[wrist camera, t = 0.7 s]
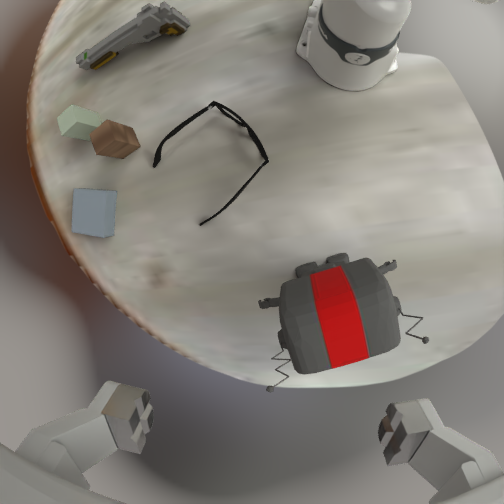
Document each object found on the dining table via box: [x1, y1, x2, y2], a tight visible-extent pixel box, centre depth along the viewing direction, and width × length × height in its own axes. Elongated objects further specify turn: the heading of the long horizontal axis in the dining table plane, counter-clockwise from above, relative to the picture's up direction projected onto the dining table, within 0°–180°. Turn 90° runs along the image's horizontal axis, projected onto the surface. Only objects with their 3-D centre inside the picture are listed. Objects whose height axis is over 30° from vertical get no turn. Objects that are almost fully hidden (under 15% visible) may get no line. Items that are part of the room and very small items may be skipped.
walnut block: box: [89, 120, 141, 159], centre depth 48 cm, size 4×4×9 cm
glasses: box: [153, 101, 269, 226], centre depth 49 cm, size 17×18×5 cm
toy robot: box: [258, 253, 429, 392], centre depth 37 cm, size 22×9×30 cm, turn 109°
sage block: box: [57, 104, 102, 141], centre depth 49 cm, size 4×4×9 cm
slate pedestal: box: [72, 188, 117, 238], centre depth 54 cm, size 9×9×4 cm
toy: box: [76, 2, 190, 70], centre depth 45 cm, size 6×24×10 cm, turn 101°
